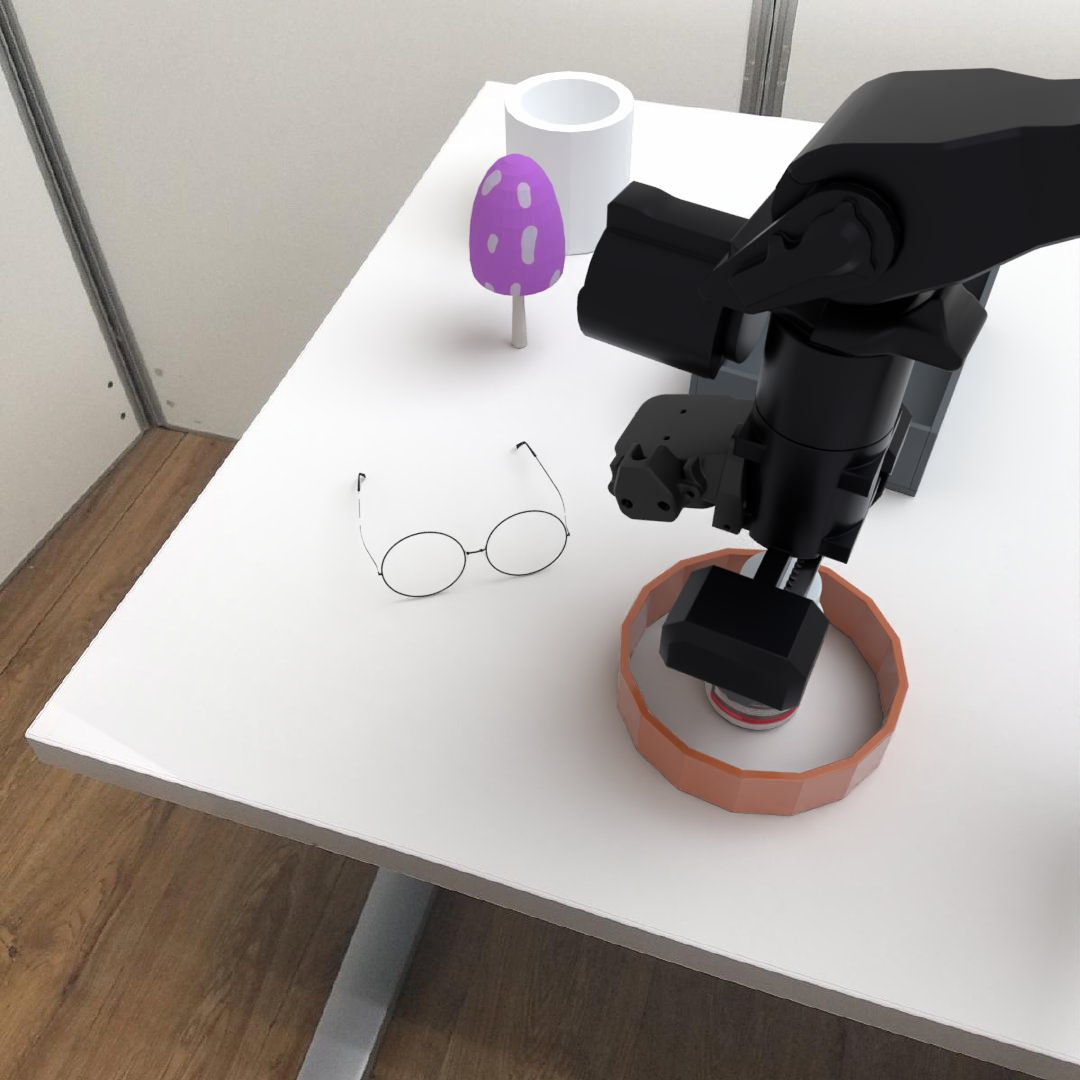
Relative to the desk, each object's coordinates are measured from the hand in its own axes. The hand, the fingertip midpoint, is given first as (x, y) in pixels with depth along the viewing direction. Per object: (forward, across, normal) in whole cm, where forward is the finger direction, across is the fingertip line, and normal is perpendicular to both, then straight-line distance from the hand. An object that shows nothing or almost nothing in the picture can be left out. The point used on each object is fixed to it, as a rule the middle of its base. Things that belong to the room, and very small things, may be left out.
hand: (768, 633), depth 55 cm
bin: (+5, -30, -4) cm, 30 cm away
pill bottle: (+6, 0, 0) cm, 6 cm away
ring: (+5, 0, 0) cm, 5 cm away
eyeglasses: (+6, -4, -21) cm, 22 cm away
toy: (+6, -22, -26) cm, 35 cm away
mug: (+6, -40, -30) cm, 50 cm away
